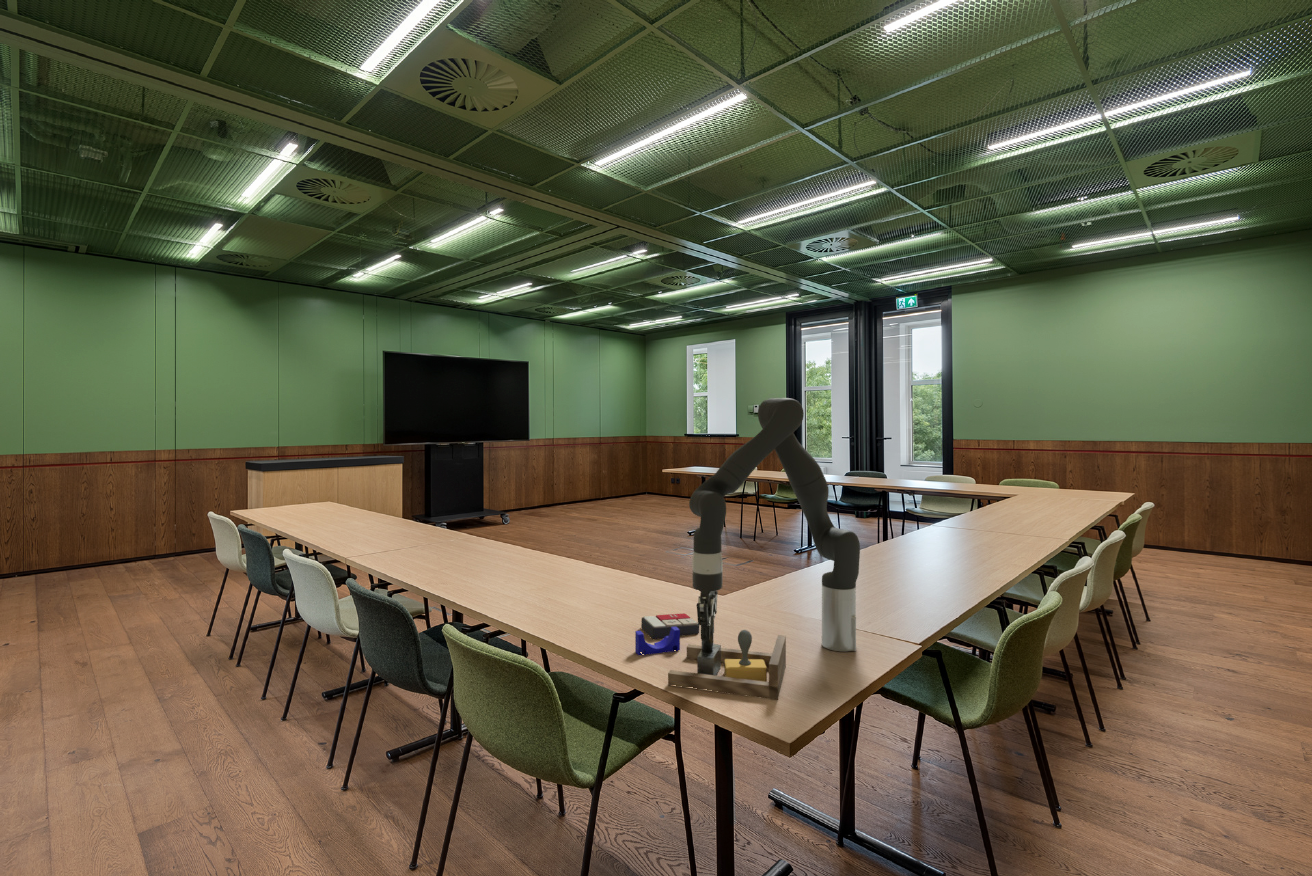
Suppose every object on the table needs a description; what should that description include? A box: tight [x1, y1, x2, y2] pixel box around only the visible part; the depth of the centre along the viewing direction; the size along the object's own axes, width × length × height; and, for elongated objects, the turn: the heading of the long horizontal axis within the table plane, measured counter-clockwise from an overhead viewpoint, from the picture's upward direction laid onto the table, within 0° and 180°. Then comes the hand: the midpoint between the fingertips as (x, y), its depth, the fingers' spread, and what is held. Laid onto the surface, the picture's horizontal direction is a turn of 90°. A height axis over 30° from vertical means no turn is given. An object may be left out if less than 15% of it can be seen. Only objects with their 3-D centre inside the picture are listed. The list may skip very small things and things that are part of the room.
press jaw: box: [696, 615, 722, 676], centre depth 151 cm, size 4×9×14 cm, turn 163°
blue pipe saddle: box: [634, 627, 681, 656], centre depth 167 cm, size 12×4×6 cm, turn 108°
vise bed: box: [667, 634, 787, 701], centre depth 149 cm, size 26×20×8 cm
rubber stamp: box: [723, 629, 768, 682], centre depth 148 cm, size 10×6×12 cm, turn 87°
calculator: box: [640, 612, 700, 640], centre depth 183 cm, size 11×4×15 cm
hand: (707, 636), depth 151 cm, fingers open, 4 cm apart
